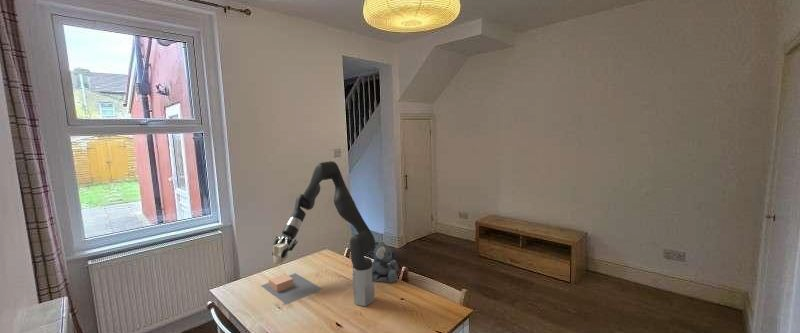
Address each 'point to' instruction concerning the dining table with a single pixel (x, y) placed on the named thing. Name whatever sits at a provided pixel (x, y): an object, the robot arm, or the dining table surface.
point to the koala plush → (384, 264)
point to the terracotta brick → (281, 282)
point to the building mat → (294, 289)
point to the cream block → (279, 253)
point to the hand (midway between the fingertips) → (277, 256)
